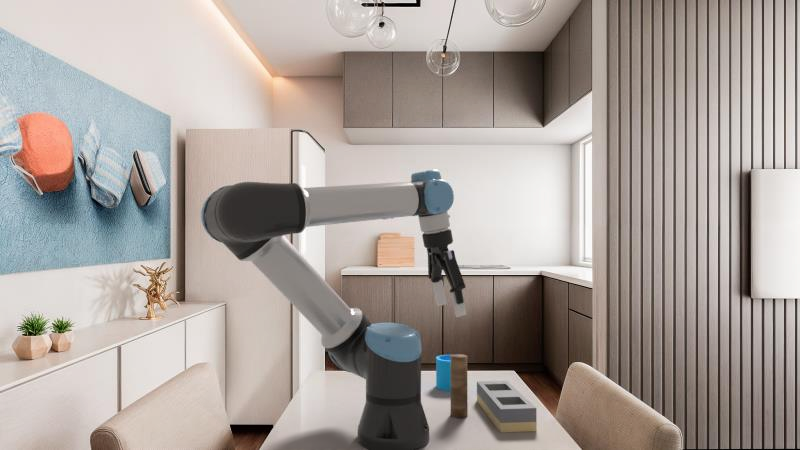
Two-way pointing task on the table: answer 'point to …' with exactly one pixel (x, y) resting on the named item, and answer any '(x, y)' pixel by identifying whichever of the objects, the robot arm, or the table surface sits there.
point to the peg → (458, 386)
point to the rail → (506, 406)
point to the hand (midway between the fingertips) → (451, 310)
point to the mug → (443, 372)
